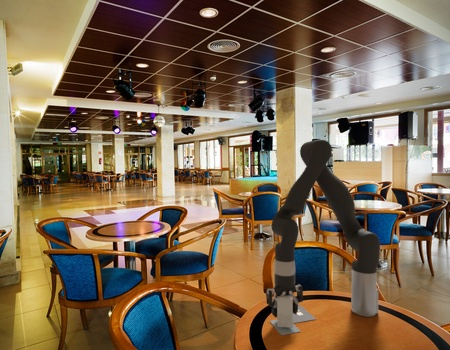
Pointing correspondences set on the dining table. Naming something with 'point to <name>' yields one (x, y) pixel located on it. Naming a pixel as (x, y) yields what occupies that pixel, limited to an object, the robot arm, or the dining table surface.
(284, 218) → the robot arm
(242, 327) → the dining table surface
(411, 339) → the dining table surface
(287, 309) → the small box
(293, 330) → the pad
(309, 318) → the tile
